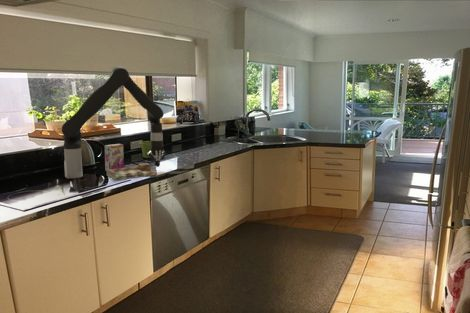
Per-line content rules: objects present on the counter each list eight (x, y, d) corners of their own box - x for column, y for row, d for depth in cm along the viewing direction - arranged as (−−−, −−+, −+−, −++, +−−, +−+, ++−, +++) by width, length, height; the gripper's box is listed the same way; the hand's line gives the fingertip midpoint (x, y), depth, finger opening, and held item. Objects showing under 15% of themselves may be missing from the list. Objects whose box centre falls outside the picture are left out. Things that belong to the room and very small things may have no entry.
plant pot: (139, 156, 304) (138, 141, 302) (155, 155, 307) (154, 140, 305) (140, 159, 293) (140, 143, 291) (157, 158, 296) (156, 143, 294)
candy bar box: (109, 172, 250) (108, 146, 247) (105, 171, 254) (103, 145, 250) (124, 169, 259) (123, 144, 256) (120, 168, 262) (119, 143, 259)
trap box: (114, 180, 230) (114, 172, 229) (106, 175, 241) (106, 168, 241) (156, 174, 245) (156, 167, 244) (147, 170, 256) (147, 163, 255)
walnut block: (141, 171, 246) (141, 165, 245) (138, 169, 250) (137, 163, 250) (150, 169, 249) (150, 164, 248) (147, 168, 254) (146, 162, 253)
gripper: (149, 141, 244) (149, 168, 248) (169, 139, 252) (169, 166, 255) (144, 139, 250) (145, 166, 254) (163, 138, 258) (164, 164, 261)
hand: (157, 166), depth 254 cm, fingers closed
